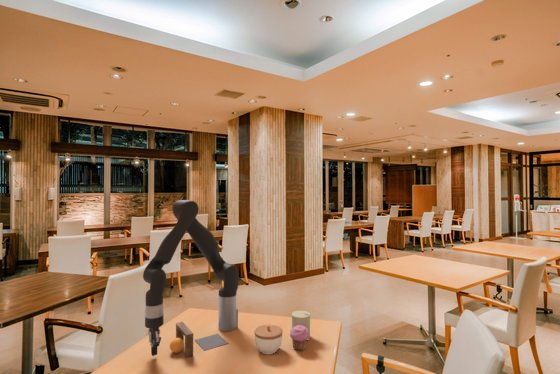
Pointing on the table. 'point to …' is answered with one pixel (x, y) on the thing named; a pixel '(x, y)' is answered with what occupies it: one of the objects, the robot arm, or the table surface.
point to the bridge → (185, 331)
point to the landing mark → (211, 342)
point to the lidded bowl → (268, 338)
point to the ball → (176, 345)
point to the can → (301, 319)
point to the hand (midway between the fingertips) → (154, 354)
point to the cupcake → (299, 336)
